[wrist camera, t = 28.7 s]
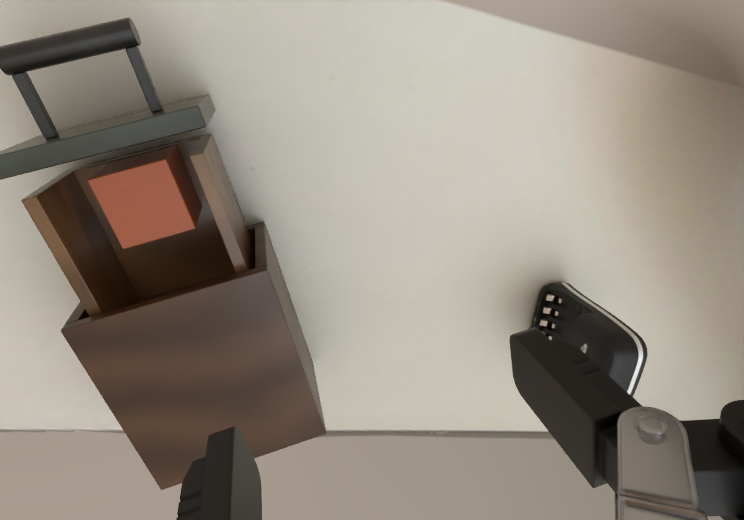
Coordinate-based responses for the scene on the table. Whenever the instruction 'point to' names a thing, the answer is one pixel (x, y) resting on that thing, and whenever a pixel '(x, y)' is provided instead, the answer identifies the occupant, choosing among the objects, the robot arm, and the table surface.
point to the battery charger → (592, 333)
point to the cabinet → (204, 366)
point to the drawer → (71, 189)
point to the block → (147, 196)
